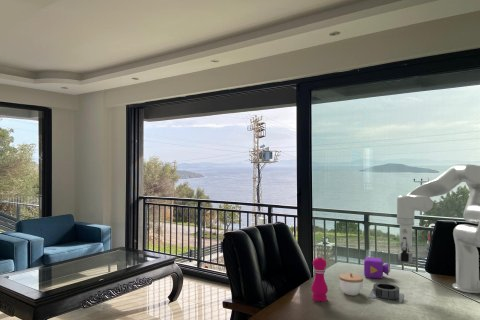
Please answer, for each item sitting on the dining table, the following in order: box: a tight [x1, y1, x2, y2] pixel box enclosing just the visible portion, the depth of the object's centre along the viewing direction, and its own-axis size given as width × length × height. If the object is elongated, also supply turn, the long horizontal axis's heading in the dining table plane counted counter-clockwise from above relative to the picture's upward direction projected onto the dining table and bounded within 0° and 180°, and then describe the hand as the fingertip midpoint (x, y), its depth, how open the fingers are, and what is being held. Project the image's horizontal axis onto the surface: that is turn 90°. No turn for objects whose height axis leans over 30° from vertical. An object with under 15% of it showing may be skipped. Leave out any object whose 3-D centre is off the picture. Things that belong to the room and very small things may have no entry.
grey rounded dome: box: [397, 251, 413, 264], centre depth 167 cm, size 6×6×4 cm
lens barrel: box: [368, 282, 405, 304], centre depth 164 cm, size 14×12×4 cm
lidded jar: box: [339, 272, 364, 296], centre depth 167 cm, size 11×11×9 cm
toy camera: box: [363, 255, 391, 280], centre depth 194 cm, size 11×14×10 cm
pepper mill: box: [310, 254, 329, 302], centre depth 159 cm, size 7×7×20 cm
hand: (405, 259), depth 167 cm, fingers closed on grey rounded dome, 5 cm apart
